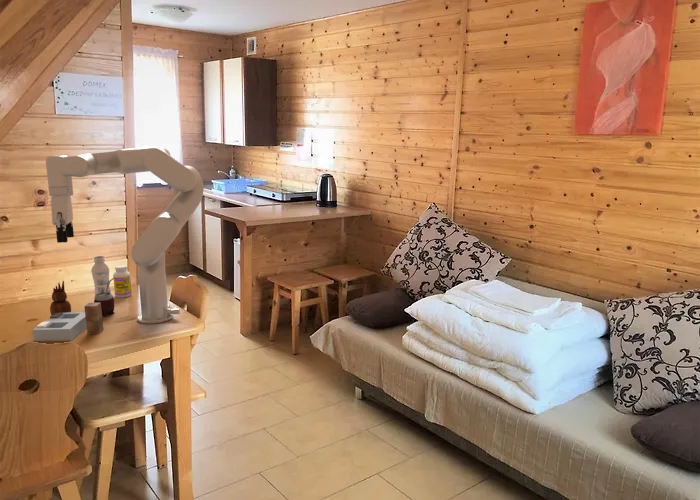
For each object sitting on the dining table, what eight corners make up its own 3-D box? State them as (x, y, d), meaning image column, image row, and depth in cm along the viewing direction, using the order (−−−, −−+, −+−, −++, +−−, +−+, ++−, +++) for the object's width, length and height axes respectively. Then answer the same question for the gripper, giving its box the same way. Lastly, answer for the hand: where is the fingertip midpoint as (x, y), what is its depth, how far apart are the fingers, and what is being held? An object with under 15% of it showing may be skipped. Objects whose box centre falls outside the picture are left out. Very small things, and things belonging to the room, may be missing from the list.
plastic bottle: (108, 308, 224) (104, 258, 220) (91, 308, 224) (86, 258, 220) (115, 303, 231) (111, 255, 226) (99, 303, 231) (94, 255, 227)
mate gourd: (95, 312, 219) (92, 275, 216) (117, 310, 222) (114, 273, 219) (94, 318, 212) (90, 279, 209) (117, 316, 215) (114, 277, 212)
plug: (103, 329, 201) (100, 302, 199) (99, 333, 197) (96, 306, 195) (91, 329, 200) (89, 302, 198) (87, 333, 197) (84, 306, 194)
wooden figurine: (74, 317, 213) (70, 279, 210) (68, 322, 208) (63, 283, 205) (56, 318, 213) (51, 279, 210) (49, 323, 207) (44, 283, 204)
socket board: (92, 322, 208) (90, 310, 207) (71, 340, 191) (69, 327, 190) (58, 323, 208) (57, 311, 207) (34, 341, 190) (32, 328, 189)
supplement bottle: (113, 298, 237) (111, 268, 235) (116, 294, 244) (113, 264, 241) (130, 297, 239) (128, 267, 236) (132, 293, 245) (130, 264, 243)
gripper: (55, 189, 205) (60, 235, 209) (42, 194, 189) (47, 244, 192) (78, 188, 207) (82, 234, 210) (66, 193, 190) (71, 244, 194)
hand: (65, 239), depth 201 cm, fingers open, 9 cm apart
